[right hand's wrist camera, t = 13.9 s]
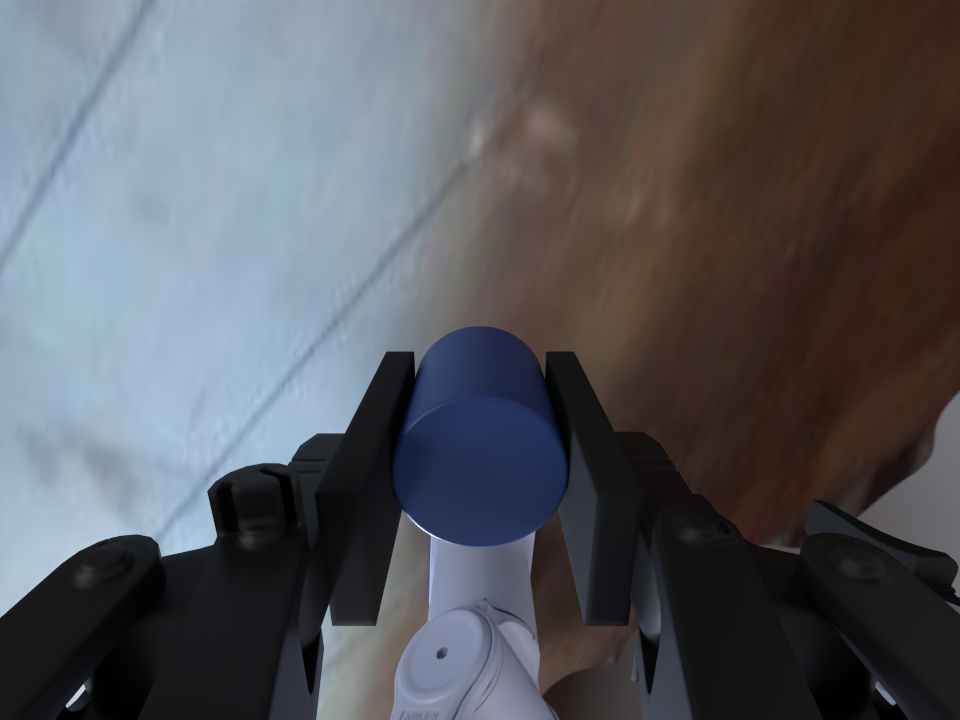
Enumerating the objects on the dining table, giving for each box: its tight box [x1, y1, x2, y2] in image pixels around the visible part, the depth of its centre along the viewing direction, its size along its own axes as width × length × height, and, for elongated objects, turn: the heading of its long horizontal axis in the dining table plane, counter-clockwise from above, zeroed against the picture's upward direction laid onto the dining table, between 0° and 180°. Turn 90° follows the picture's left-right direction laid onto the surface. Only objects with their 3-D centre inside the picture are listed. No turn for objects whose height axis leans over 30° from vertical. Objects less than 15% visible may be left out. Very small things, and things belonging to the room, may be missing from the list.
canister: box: [391, 326, 569, 548], centre depth 12 cm, size 4×4×5 cm
